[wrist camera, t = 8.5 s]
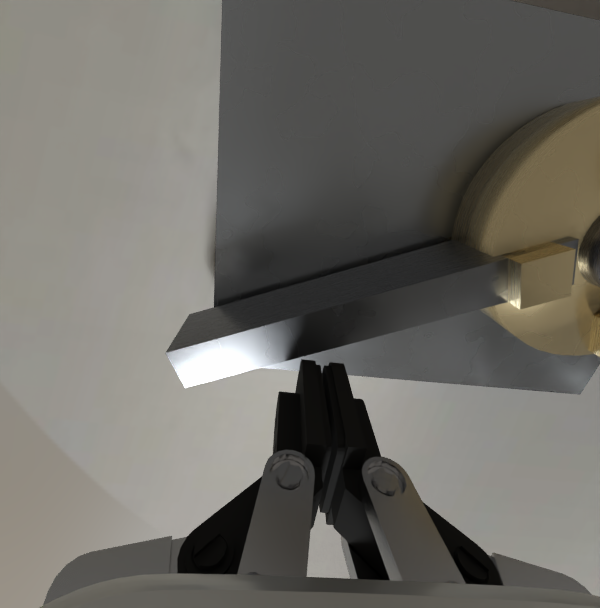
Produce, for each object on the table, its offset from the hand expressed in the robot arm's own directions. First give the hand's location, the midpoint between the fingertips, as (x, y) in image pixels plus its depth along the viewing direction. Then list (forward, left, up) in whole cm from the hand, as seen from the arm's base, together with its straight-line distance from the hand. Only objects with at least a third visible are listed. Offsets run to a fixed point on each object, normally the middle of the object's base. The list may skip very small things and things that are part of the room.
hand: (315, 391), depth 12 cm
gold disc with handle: (-4, -5, -3) cm, 7 cm away
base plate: (-5, -6, -5) cm, 9 cm away
